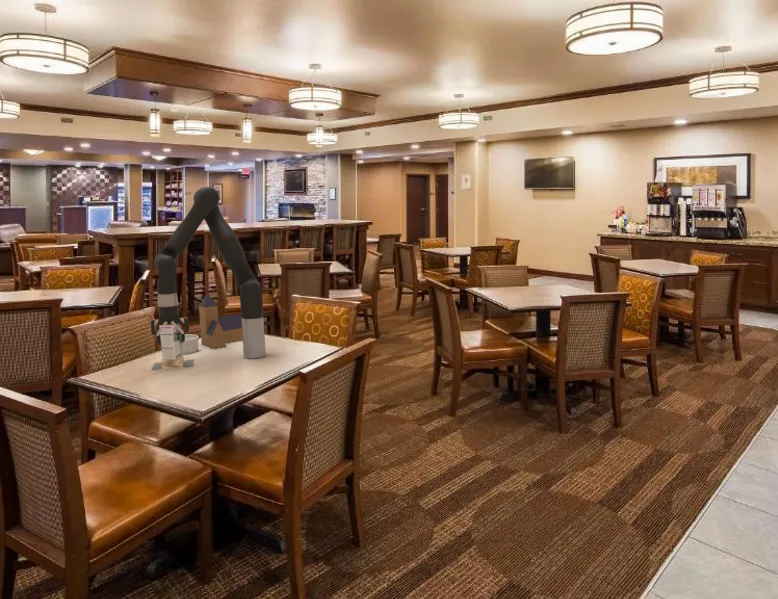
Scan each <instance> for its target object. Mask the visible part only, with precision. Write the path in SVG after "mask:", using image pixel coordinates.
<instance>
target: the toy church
mask: <svg viewBox="0 0 778 599" xmlns="http://www.w3.org/2000/svg"><path fill="white" fill-rule="evenodd" d="M198 312H199V324H200V338H201V345H202V346H203V345H204V347H206V346H207V347H206V348H208V347H209V349H211V350H213V349H214V350H218V348H219V349H223V347H224V348H227V344H230V343H231V342H232V343H236V342H241V341H242V342H243V336H242V319H241V313H240V314H233V315H225V316H220V317H219V309H218V305H217V303H216V302H215V300H214V299H213V298H212V297H211V295H210V294H209V293H208V292H206V294H205V295H204V296H203V298H202V300H201V302H200V304H199V305H198ZM226 343H227V344H226Z"/></svg>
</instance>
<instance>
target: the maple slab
mask: <svg viewBox="0 0 778 599" xmlns="http://www.w3.org/2000/svg"><path fill="white" fill-rule="evenodd" d="M184 356H185V354H182V357H180V358H178V359H176V360H163V358H162V359H161V364H162V369H163V370H168V369H167V368H174V369H180V368H179V367H183V365H184V360H185V358H184Z"/></svg>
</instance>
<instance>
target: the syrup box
mask: <svg viewBox="0 0 778 599" xmlns="http://www.w3.org/2000/svg"><path fill="white" fill-rule="evenodd" d="M179 325H180V323H179V324H178V326H179ZM161 327H162V331H160V337H161V356H162V359H163V360H176V359H178V358H180V357H182V355H183V354H182V346H181V333H180V331H178V330H177V329H176V328H175V325H172V324H167V325H160V324H159V329H160V328H161Z"/></svg>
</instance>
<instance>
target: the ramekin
mask: <svg viewBox="0 0 778 599" xmlns="http://www.w3.org/2000/svg"><path fill="white" fill-rule="evenodd" d="M199 340H200V338H199V336H198V335H197V334H188V333H187V334H185V341H183V343H181V346H182V355H188V354H193V353H197V351H198V349H199Z"/></svg>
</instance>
